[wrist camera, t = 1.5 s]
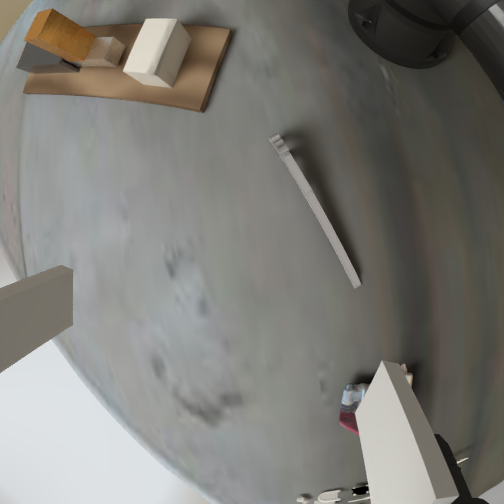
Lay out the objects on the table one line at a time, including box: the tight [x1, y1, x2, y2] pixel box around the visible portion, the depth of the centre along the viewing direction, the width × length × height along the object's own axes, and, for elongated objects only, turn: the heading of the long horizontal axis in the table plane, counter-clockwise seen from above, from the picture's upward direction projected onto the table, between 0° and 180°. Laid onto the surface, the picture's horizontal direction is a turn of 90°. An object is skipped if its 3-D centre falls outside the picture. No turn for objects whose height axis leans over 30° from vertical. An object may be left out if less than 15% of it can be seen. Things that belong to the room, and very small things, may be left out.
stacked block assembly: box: [16, 9, 125, 67], centre depth 26 cm, size 4×22×13 cm, turn 73°
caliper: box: [269, 133, 361, 288], centre depth 32 cm, size 20×1×6 cm, turn 31°
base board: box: [23, 24, 232, 113], centre depth 34 cm, size 12×36×2 cm, turn 73°
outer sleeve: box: [16, 42, 81, 74], centre depth 31 cm, size 5×12×5 cm, turn 73°
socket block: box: [123, 19, 192, 88], centre depth 30 cm, size 8×4×6 cm, turn 163°
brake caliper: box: [339, 364, 413, 435], centre depth 35 cm, size 11×11×12 cm
